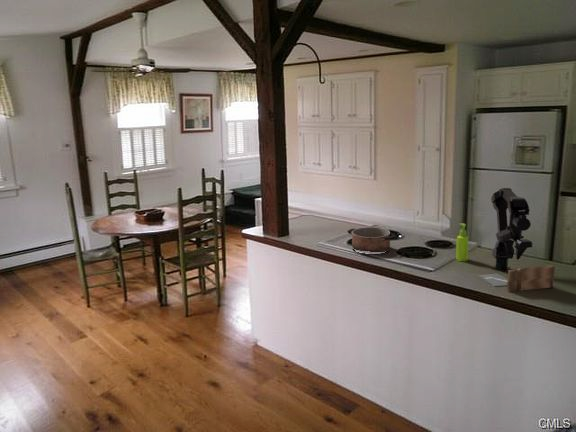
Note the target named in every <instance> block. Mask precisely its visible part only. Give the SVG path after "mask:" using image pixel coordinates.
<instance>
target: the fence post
mask: <svg viewBox="0 0 576 432" xmlns="http://www.w3.org/2000/svg"><path fill="white" fill-rule="evenodd" d="M522 268H523V267H517V269H509V270H507V272H508V273H507V280H508V283H507V286H506V291H507V292H508V293H510V292H511V293H513V292H522V290H521V284H522V273H523V269H522Z"/></svg>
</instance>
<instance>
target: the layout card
mask: <svg viewBox="0 0 576 432" xmlns="http://www.w3.org/2000/svg"><path fill="white" fill-rule="evenodd" d="M478 277H479V278H481V279H482V280H484V281H485V282H486V283H488V284H489V285H491V286H492V287H494V288H496V287H507V283H508V278H505V277H504V276H502V275H501V274H499V273H490V274H489V273H488V274H478Z"/></svg>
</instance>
